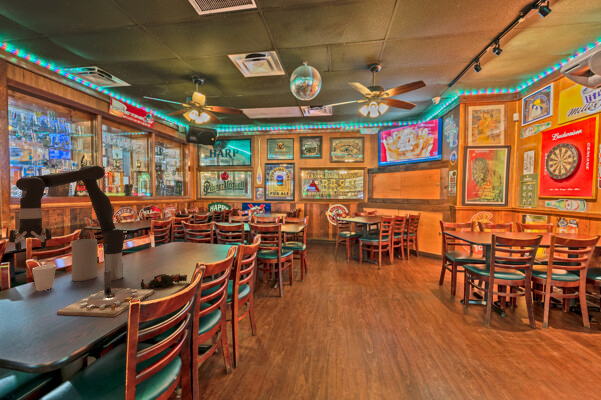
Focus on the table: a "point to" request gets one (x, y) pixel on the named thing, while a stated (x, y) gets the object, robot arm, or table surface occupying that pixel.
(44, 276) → the foam cup
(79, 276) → the cylinder vase
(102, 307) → the sprocket
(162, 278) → the leprechaun
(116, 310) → the base board
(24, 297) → the table surface
